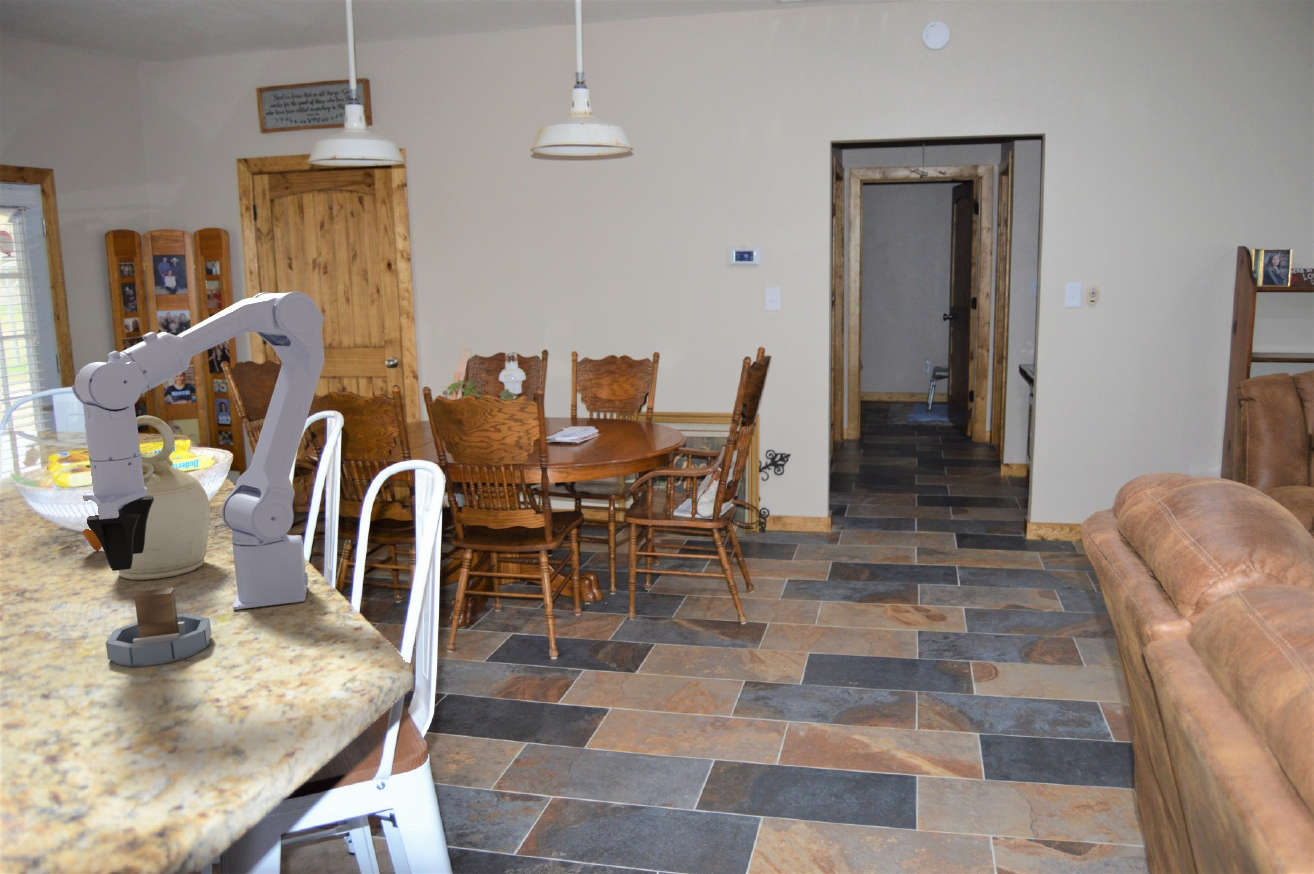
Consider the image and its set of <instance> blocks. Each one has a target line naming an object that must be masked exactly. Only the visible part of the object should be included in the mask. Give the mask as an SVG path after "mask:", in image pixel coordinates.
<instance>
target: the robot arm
mask: <svg viewBox="0 0 1314 874" xmlns="http://www.w3.org/2000/svg"><path fill="white" fill-rule="evenodd" d="M324 320H325V316H324V315H323V313H322V312H321V310H320V309H319V307H318V305H317V304H316V302H315V300H314V299H313V298H312V297H311V296H310V295H309V294H308V293H304V292H302V291H290V292H280V293H279V292H274V293H273V292H268V291H267V292H266V291H265V292H259V293H258V294H256V295H254V296H253V297H248V298H243V299H242V300H240V301H237V302H235V303H234V304H232V305H230V306H229V307H228V306H227V307H226V308H225V309H223V310H221V311H219V312H218V313H217V312H216V313H215V314H213V315H212V316H209V317H207V319H204V320H203V321H201V322H199V323H197V324H195V325H194V326H191V327H190V328H188V329H186V330H184V331H183V332H181V333H179V334H177V335H175V334H172V333H169V332H165V331H161V332H159V333H156V332H154V331H149V332H147V333H145V334H143V335H141V336H142V340H143V341H140V342H138V343H136V344H134V345H132V346H130V347H128V348H126V349H124V350H122V351H120V352H119V350H118V351H117V350H113V351H111V352H109V353H107V357H108V359H107V362H105V361H104V362H103V361H96V362H91V363H87V364H86V365H85V366H83V367H82V368H81V369H80V370H79V373H78V374H77V373H76V376H75V378H74V385H72V386H71V390H72V393H73V395H74V396H75V398H76V399H77V400H78V401H79V402H80V403H81V404H82V406H83V407H82V408H83V414H84V415H83V416H84V428H85V436H86V444H87V450H88V451H87V452H88V459H89V465H90V468H91V476H92V484H93V492H89V493H85V494H84V495H83V499H84V501H88V500H92V501H94V502H95V503H96V504H97V506H98V514H99V515H95V516H89V517H88V518H87V524H88V526H89V528H90V529H91V530H92V531H93V532H94V534H95V535H96V536H97V538H98V540H99V541H100V543H101V545H102V547H101V548H102V549H103V552H104V555H105V557H106V560H107V562H108V565H109V567H110V569H111V571H112V572H115V571H116V572H117V571H119V570H126V569H131V566H132V561H133V554H139V553H143V550H144V544H145V534H146V524H147V519H148V515H149V511H150V508H151V506H152V503H153V501H154V497H153V496H146V495H147V488H146V487H145V486H144V477H143V469H142V461H141V454H142V453H141V446H140V439H139V437H140V435H139V429H138V428H139V427H137V420H136V417H137V416H136V407H135V404H136V403H137V402H138V400H139V399H140V397H141V394H144V393H147V392H148V391H150V390H152V389H154V388H157V386H158V387H159V386H160V385H161V384H164V383H165V382H168V381H169V380H171V379H173V378H175V377H176V376H178V375H181V374H183V373H184V372H186V371H188V369H189V368H190V364H191V360H192V358H193V357H194V356H196V355H199V354H200V353H203V352H206V351H207V350H210V349H211V348H214V347H216V346H218V345H220V344H223V343H225V342H226V341H229V340H231V339H234V338H235V337H238V336H240V335H242V334H244V333H255V334H257V335H258V336H259V337H260V338H262V339H263V340H264V341H265V342H266V343H267V344H268V345H270V346H271V347H272V349H273V351H274V352H275V354H276V355H277V357H278V358H279V360H280V362H281V367H280V370H279V373H278V377H277V379H276V383H275V385H274V388H273V389H274V390H273V392H272V396H271V399H270V402H269V405H268V407H267V412H266V413H265V417H264V421H263V424H262V428H261V430H260V434H259V437H258V441H257V443H256V447H255V450H254V453H253V456H252V459H251V463H250V465H249V467H248V468H247V469H246V470H245V471H244V472H243V473H241V475H240V476H238V479H236V483H235V486H234V488H233V489H232V491H231V492H230V493H229V494H228V495H227V496H226V498H225V499H224V500H223V503H222V506H221V510H220V512H221V513H220V515H221V519H222V521H223V523H224V525H225V527H227V528H228V529H230V530H231V534H232V536H231V541H232V553H233V562H234V569H235V570H234V571H235V581H236V588H237V589H236V590H237V591H236V592H237V593H236V596H235V599H234V602H233V604H232V610H236V611H237V610H242V609H243V610H245V609H250V608H251V609H252V608H260V607H267V606H268V607H269V606H276V605H284V604H292V603H302V602H305V601H306V598H307V588H308V585H309V577H308V572H306V563H305V554H304V553H305V552H304V550H305V549H304V543H303V537H302V535H301V534H298V535H297V534H296V535H294V534H293V535H290V534H289V535H288V534H287V533H288V532H289V531H290V530H291V528H292V526H293V523H294V509H293V503H294V502H293V501H294V498H295V495H296V493H295V489H294V486H293V484H292V482H291V480H290V476H291V472H292V469H293V465H294V462H295V459H296V456H297V451H298V448H299V446H300V442H301V439H302V437H303V436H302V435H303V432H304V429H305V426H306V422H307V419H308V417H309V413H310V410H311V406H312V403H313V400H314V396H315V393H316V391H317V387H318V385H319V381H320V377H321V374H322V371H323V367H324V364H325V352H324V344H323V336H322V335H323V334H322V326H323V324H324Z"/></svg>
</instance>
